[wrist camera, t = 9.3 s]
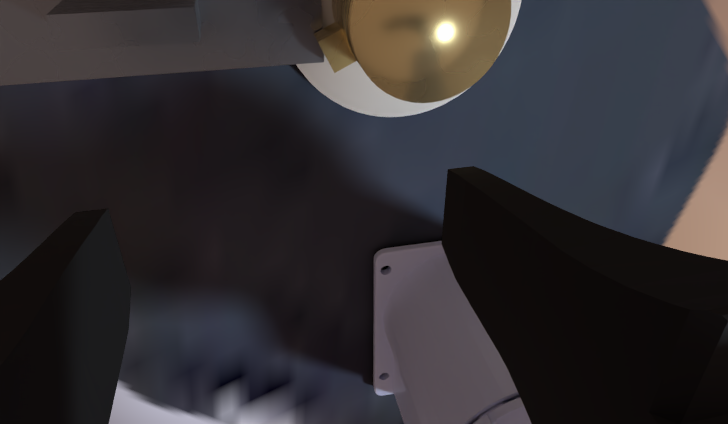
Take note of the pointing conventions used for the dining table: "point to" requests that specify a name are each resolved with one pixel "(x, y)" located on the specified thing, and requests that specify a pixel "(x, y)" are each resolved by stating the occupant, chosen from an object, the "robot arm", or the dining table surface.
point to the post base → (152, 37)
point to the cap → (417, 43)
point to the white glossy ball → (367, 81)
